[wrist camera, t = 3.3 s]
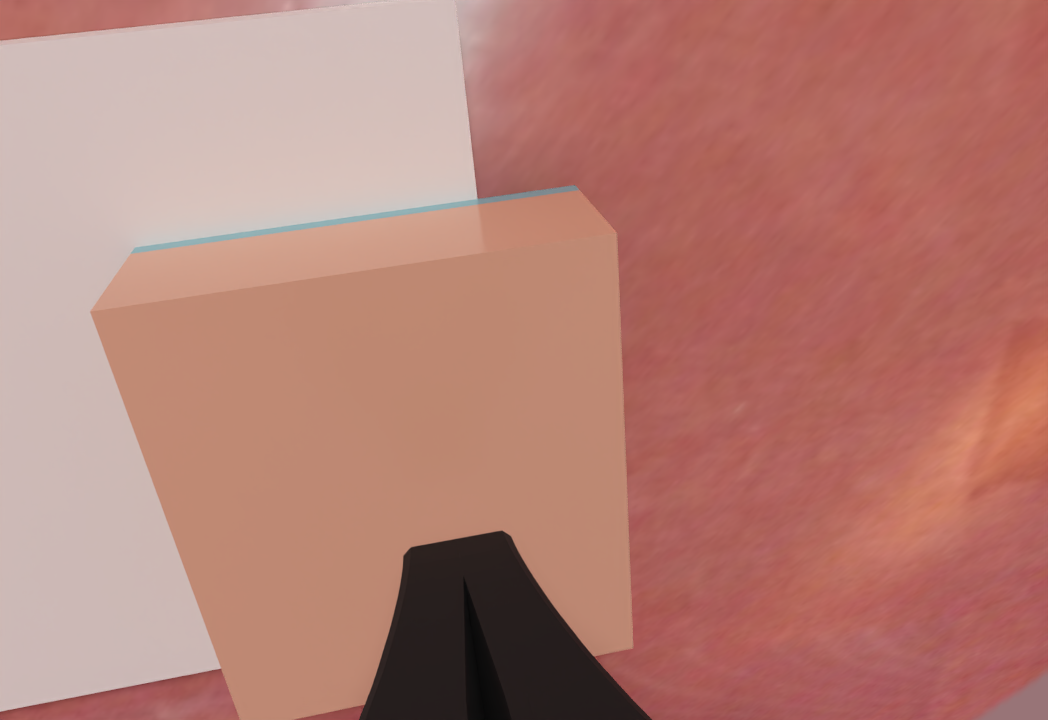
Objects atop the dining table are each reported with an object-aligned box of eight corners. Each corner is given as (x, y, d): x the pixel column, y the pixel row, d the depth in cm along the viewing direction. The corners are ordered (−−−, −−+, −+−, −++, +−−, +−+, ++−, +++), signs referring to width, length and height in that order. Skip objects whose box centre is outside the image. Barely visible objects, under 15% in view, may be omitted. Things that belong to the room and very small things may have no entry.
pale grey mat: (449, -6, 13) (455, -2, 12) (516, 583, 18) (523, 609, 18) (-362, 78, 11) (-409, 87, 11) (-23, 686, 17) (-40, 719, 16)
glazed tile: (617, 232, 12) (90, 311, 11) (633, 647, 15) (243, 730, 14) (575, 184, 14) (134, 247, 13) (597, 558, 17) (257, 625, 17)
